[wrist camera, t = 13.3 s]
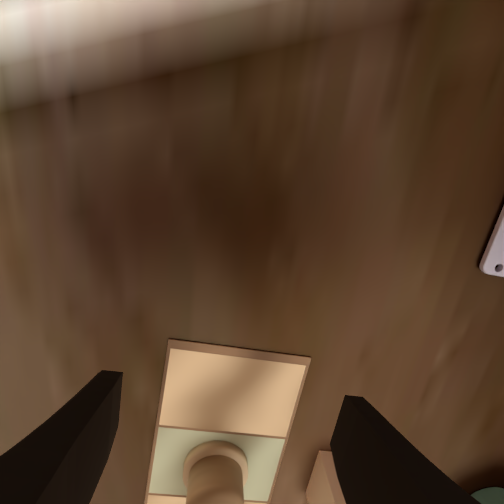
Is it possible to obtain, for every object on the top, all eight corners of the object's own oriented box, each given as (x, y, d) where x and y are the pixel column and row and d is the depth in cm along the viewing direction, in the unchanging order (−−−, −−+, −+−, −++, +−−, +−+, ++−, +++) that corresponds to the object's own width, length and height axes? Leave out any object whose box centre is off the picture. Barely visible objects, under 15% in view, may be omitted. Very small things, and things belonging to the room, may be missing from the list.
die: (371, 454, 26) (396, 509, 22) (355, 495, 27) (377, 554, 23) (318, 449, 25) (335, 505, 21) (305, 491, 26) (319, 551, 22)
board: (311, 357, 23) (311, 358, 22) (252, 561, 28) (252, 563, 28) (168, 338, 21) (168, 339, 21) (136, 555, 27) (136, 557, 27)
